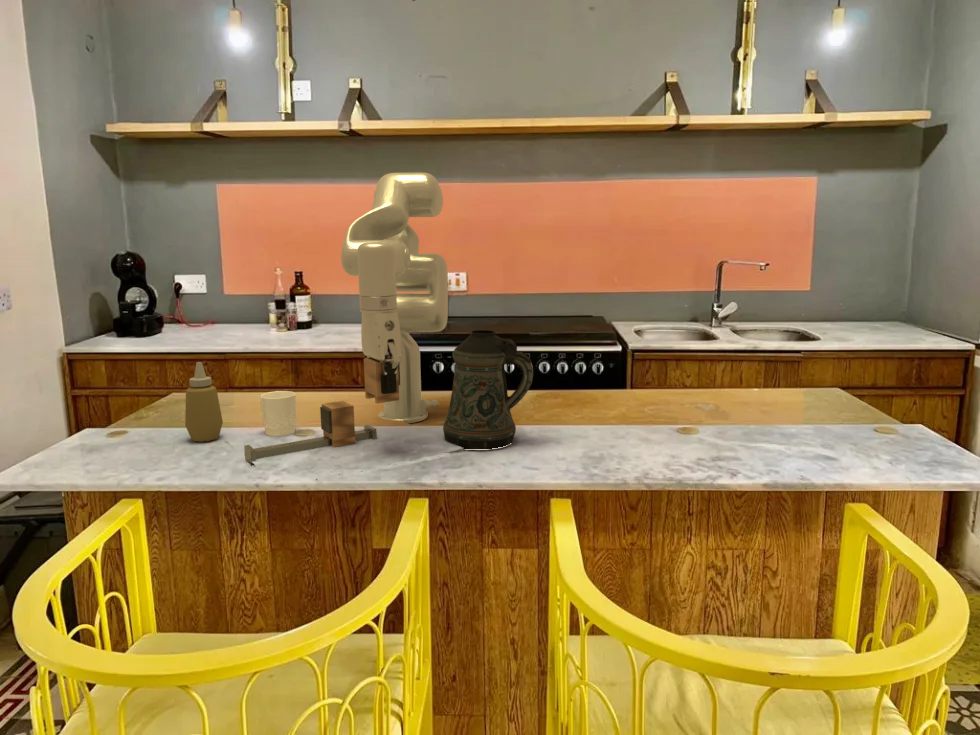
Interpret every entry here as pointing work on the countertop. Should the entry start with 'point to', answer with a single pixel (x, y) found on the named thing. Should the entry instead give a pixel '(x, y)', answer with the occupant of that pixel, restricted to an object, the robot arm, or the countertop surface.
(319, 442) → the rail
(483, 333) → the beer stein
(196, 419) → the squeeze bottle
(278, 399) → the white cup
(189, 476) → the countertop surface
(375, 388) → the brown capped cube
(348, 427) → the wooden block
